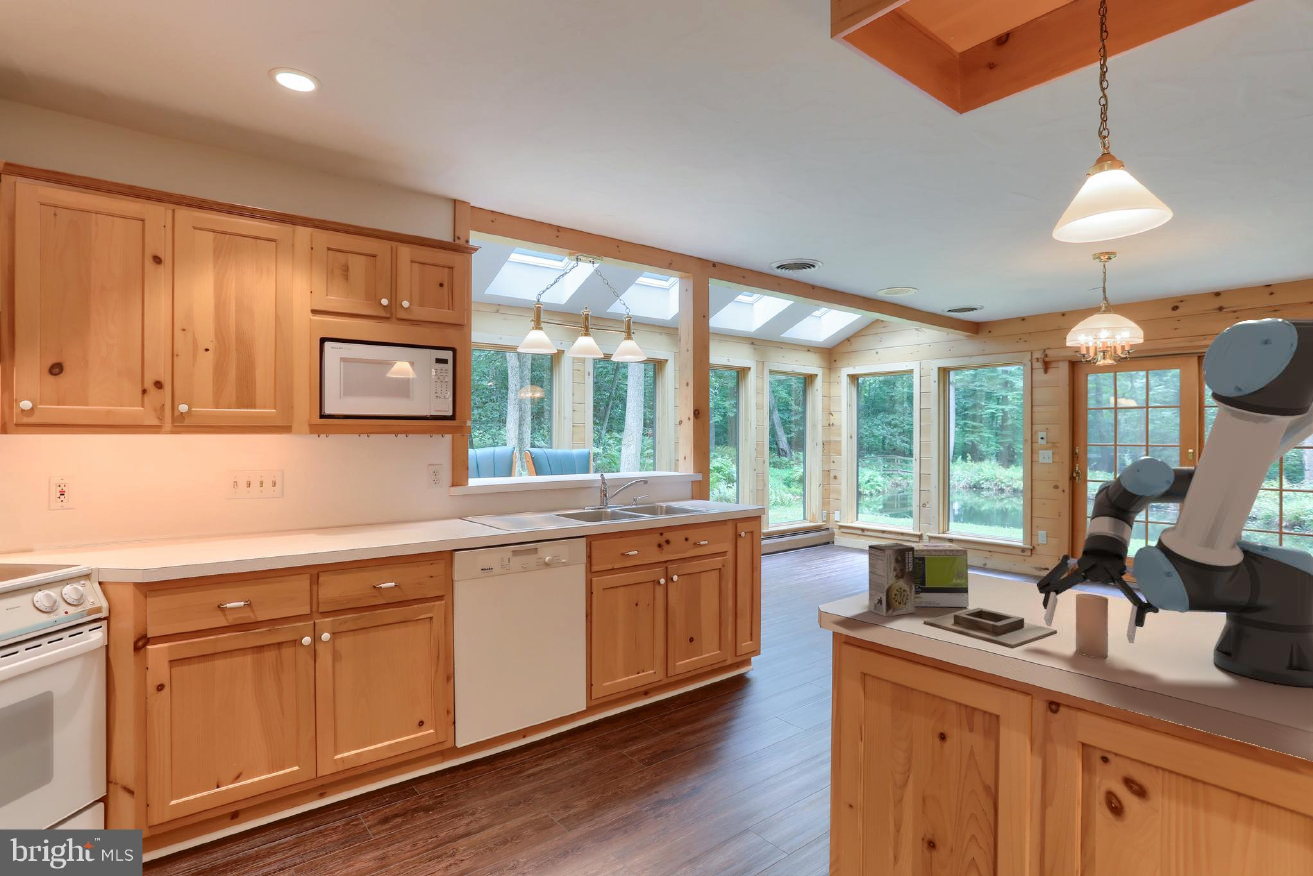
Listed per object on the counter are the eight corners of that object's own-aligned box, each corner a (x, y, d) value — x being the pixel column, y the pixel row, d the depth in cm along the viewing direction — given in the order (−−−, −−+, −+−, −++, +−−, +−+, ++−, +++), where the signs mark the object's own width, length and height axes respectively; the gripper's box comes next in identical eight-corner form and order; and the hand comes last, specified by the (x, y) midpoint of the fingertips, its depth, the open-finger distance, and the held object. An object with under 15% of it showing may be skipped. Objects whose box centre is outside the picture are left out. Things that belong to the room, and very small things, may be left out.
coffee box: (896, 606, 157) (896, 542, 157) (915, 613, 151) (916, 546, 151) (867, 610, 154) (867, 544, 154) (885, 617, 148) (885, 548, 148)
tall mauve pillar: (1112, 654, 123) (1112, 598, 123) (1100, 659, 120) (1100, 601, 120) (1083, 646, 127) (1083, 592, 127) (1070, 651, 124) (1070, 596, 124)
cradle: (1056, 632, 136) (1056, 620, 136) (1012, 647, 126) (1012, 634, 126) (968, 611, 153) (968, 600, 153) (923, 623, 143) (923, 611, 143)
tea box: (954, 598, 166) (954, 542, 166) (969, 608, 156) (969, 549, 156) (895, 597, 167) (895, 541, 167) (906, 607, 157) (906, 548, 157)
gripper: (1185, 564, 125) (1171, 657, 115) (1043, 546, 143) (1020, 626, 133) (1181, 540, 121) (1166, 635, 111) (1036, 526, 140) (1012, 606, 130)
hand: (1087, 630), depth 122 cm, fingers open, 13 cm apart
